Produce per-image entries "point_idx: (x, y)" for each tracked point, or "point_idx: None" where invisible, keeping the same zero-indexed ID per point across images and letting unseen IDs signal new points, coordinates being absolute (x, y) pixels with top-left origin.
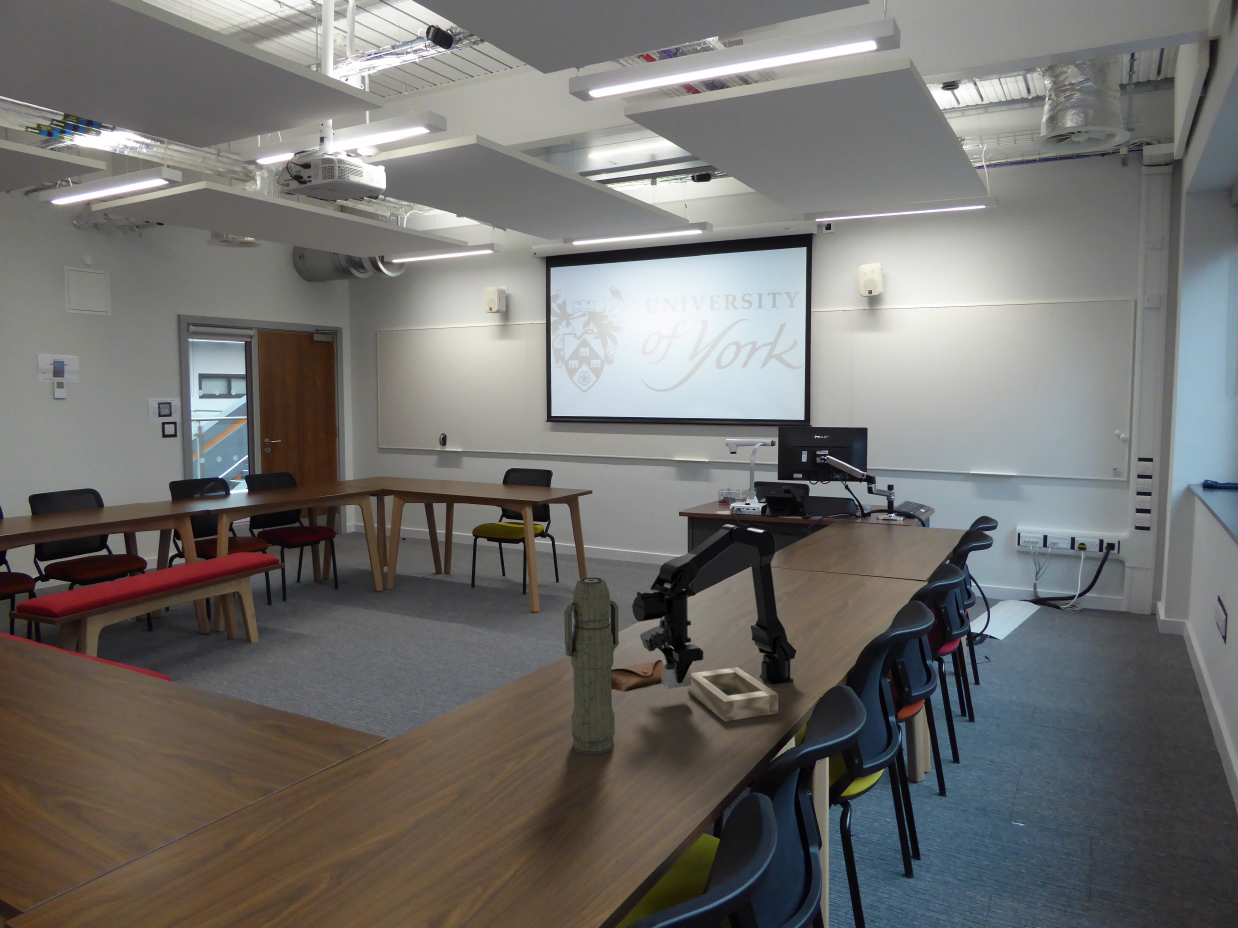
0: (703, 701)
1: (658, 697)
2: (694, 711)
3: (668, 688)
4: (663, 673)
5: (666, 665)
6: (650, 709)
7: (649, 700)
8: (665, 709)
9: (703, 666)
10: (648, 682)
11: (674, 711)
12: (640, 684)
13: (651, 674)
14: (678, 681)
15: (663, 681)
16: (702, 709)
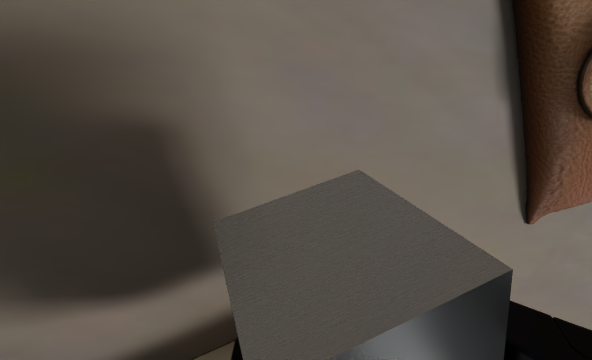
0: (223, 356)
1: (345, 119)
2: (98, 317)
3: (214, 228)
4: (367, 243)
5: (460, 339)
6: (122, 29)
7: (306, 51)
8: (127, 147)
9: (579, 304)
10: (533, 83)
11: (88, 205)
12: (528, 28)
13: (586, 109)
14: (233, 352)
15: (325, 199)
16: (136, 350)
